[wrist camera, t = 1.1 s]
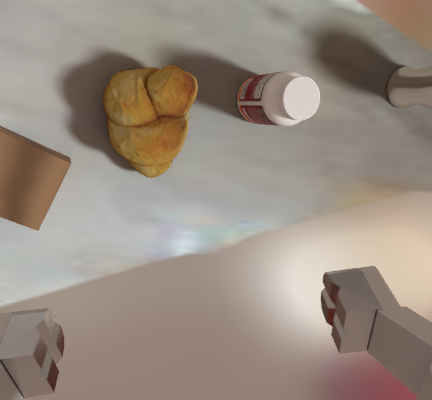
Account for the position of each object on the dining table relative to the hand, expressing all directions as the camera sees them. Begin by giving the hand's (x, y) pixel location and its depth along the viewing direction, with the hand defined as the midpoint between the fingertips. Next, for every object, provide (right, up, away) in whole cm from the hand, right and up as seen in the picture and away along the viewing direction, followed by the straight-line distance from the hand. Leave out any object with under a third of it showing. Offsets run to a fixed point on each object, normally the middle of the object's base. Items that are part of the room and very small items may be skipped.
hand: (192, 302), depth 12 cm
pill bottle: (+6, +16, +42) cm, 45 cm away
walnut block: (-21, +6, +34) cm, 40 cm away
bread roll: (-8, +13, +37) cm, 40 cm away
